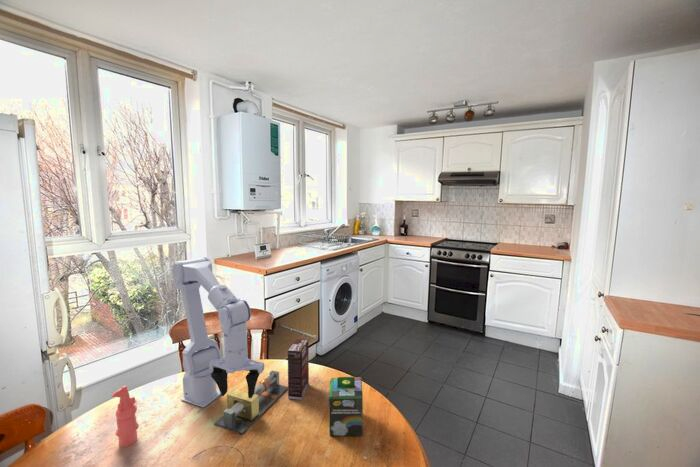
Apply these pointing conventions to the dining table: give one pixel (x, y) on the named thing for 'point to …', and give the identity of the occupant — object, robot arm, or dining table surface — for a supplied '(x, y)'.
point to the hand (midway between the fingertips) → (237, 394)
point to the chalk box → (346, 406)
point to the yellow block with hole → (250, 403)
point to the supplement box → (298, 369)
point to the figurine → (126, 418)
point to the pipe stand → (267, 396)
